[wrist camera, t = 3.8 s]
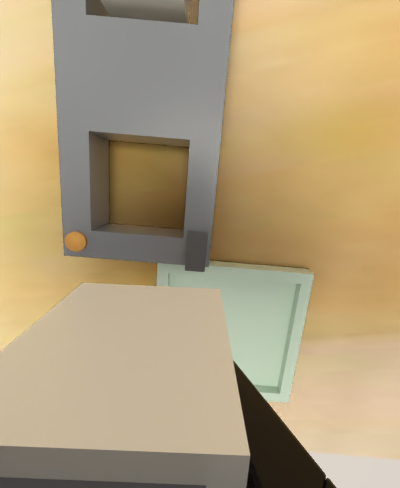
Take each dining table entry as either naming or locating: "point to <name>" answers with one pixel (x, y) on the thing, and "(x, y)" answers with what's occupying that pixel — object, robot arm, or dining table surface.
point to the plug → (123, 393)
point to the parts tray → (256, 316)
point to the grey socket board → (138, 121)
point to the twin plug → (150, 10)
